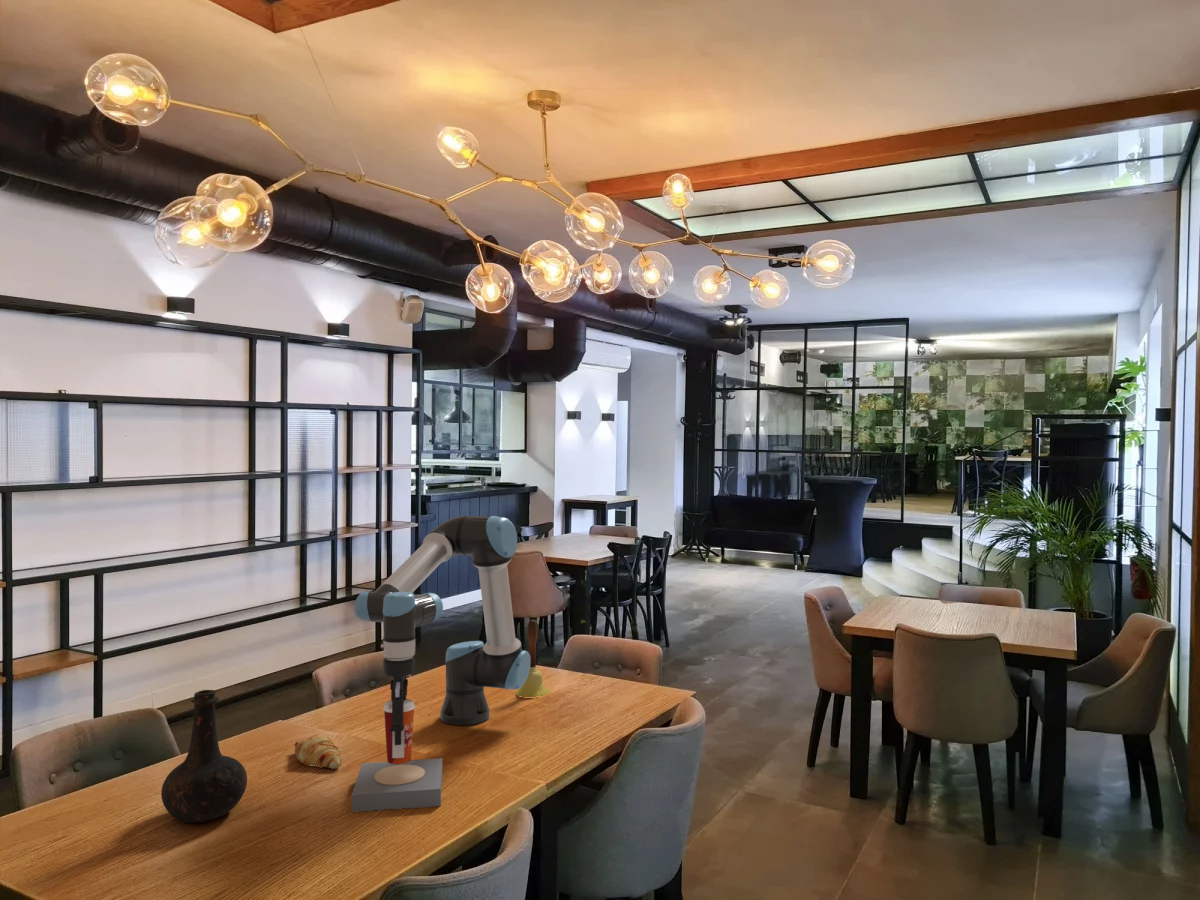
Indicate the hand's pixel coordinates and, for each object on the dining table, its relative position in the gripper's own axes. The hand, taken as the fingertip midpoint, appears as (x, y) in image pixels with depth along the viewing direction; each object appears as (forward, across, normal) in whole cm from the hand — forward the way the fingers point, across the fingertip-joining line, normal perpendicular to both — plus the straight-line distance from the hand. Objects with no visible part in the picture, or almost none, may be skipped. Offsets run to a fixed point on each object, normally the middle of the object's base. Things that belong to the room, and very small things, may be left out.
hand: (399, 751), depth 203 cm
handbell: (+10, -78, +39) cm, 88 cm away
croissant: (+10, -25, -23) cm, 36 cm away
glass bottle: (+10, +5, -43) cm, 44 cm away
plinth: (+10, 0, 0) cm, 10 cm away
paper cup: (+2, 0, 0) cm, 2 cm away
